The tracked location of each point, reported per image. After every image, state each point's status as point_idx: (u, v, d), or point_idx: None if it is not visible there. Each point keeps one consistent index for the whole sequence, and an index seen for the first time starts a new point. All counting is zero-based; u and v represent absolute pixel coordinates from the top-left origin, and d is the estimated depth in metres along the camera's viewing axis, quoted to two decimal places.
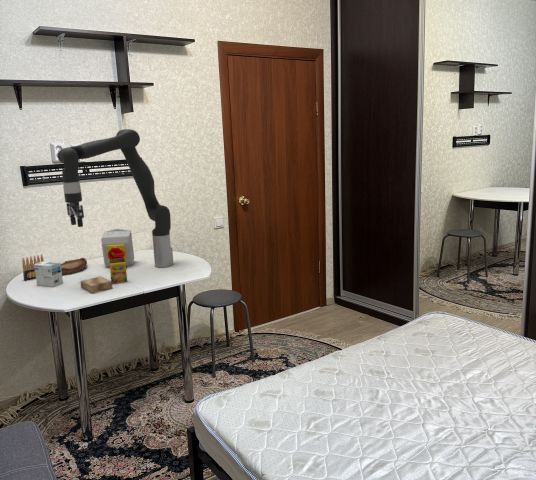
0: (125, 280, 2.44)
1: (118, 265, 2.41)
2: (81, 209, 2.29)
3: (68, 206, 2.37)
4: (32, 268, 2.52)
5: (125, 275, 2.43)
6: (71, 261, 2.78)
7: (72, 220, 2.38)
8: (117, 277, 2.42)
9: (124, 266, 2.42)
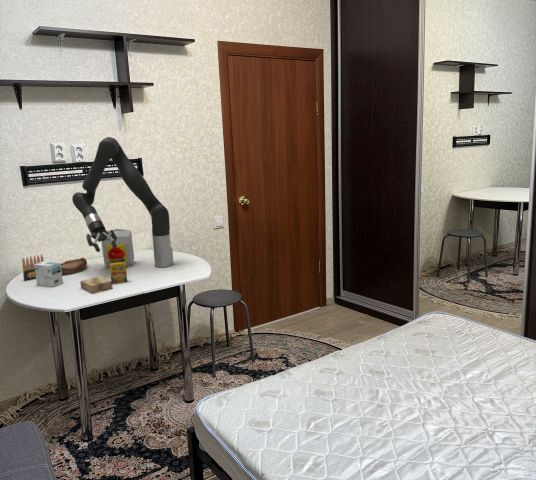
0: (125, 280, 2.44)
1: (118, 265, 2.41)
2: (87, 237, 2.46)
3: None
4: (32, 268, 2.52)
5: (125, 275, 2.43)
6: (71, 261, 2.78)
7: (112, 245, 2.52)
8: (117, 277, 2.42)
9: (124, 266, 2.42)
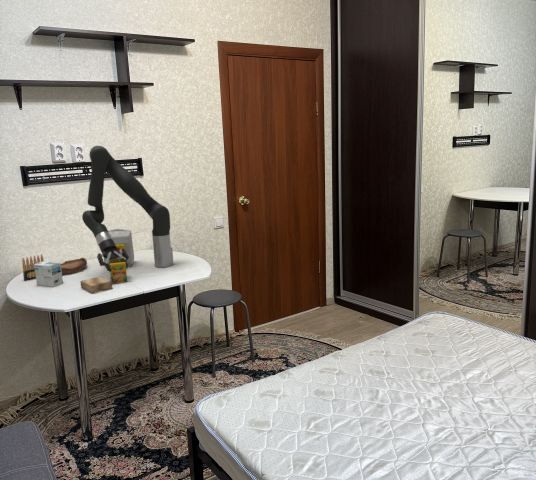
0: (125, 280, 2.44)
1: (118, 265, 2.41)
2: (98, 257, 2.40)
3: None
4: (32, 268, 2.52)
5: (125, 275, 2.43)
6: (71, 261, 2.78)
7: None
8: (117, 277, 2.42)
9: (124, 266, 2.42)
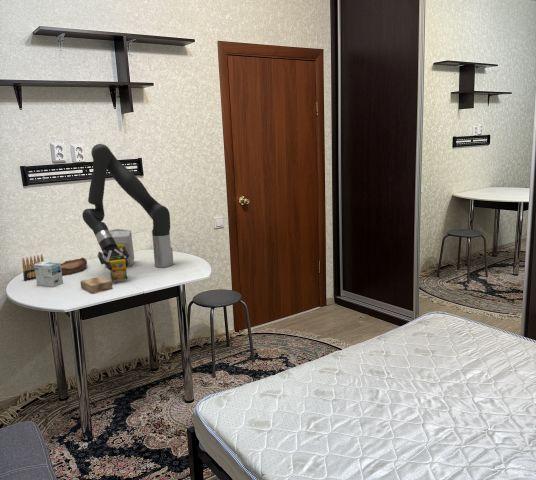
0: (125, 277, 2.44)
1: (118, 262, 2.41)
2: (99, 256, 2.40)
3: None
4: (32, 268, 2.52)
5: (125, 272, 2.43)
6: (71, 261, 2.78)
7: None
8: (117, 274, 2.42)
9: (124, 263, 2.42)
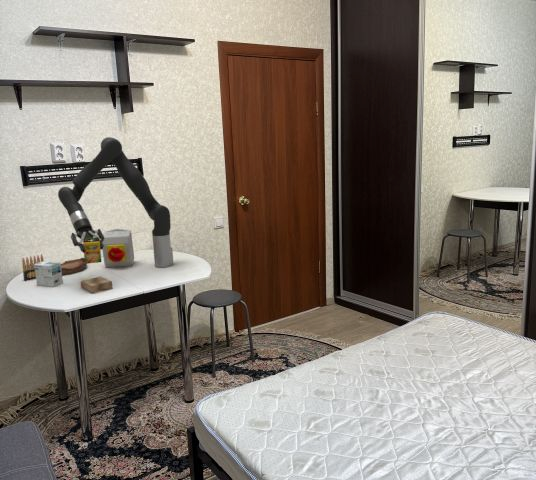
0: (99, 260, 2.33)
1: (92, 244, 2.30)
2: (72, 237, 2.29)
3: None
4: (32, 268, 2.52)
5: (99, 255, 2.32)
6: (71, 261, 2.78)
7: None
8: (90, 257, 2.31)
9: (98, 245, 2.31)
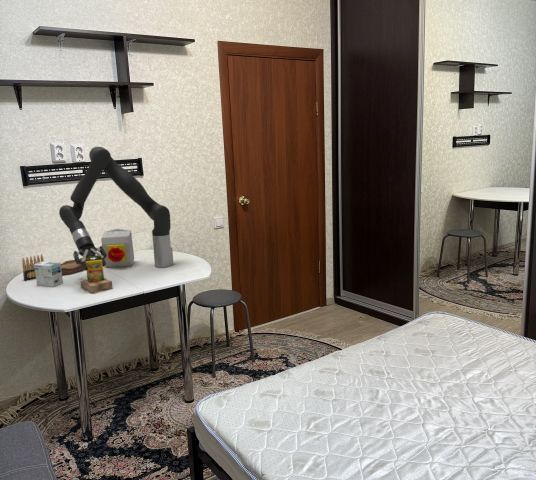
0: (102, 278, 2.35)
1: (94, 263, 2.32)
2: (74, 255, 2.30)
3: None
4: (32, 268, 2.52)
5: (102, 273, 2.34)
6: (71, 261, 2.78)
7: None
8: (93, 275, 2.33)
9: (101, 264, 2.33)
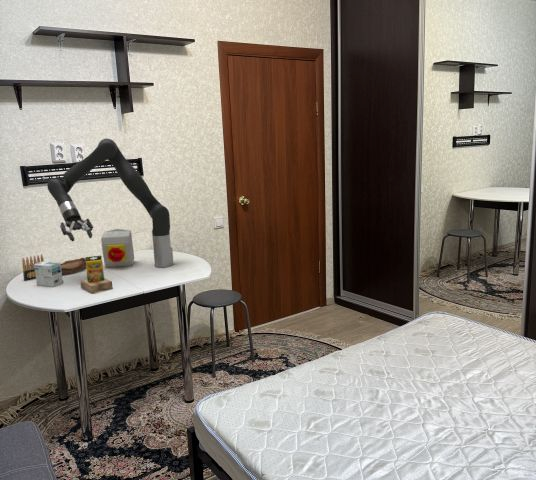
0: (102, 278, 2.35)
1: (94, 263, 2.32)
2: (61, 226, 2.36)
3: (85, 223, 2.45)
4: (32, 268, 2.52)
5: (102, 273, 2.34)
6: (71, 261, 2.78)
7: (88, 234, 2.42)
8: (93, 275, 2.33)
9: (101, 264, 2.33)
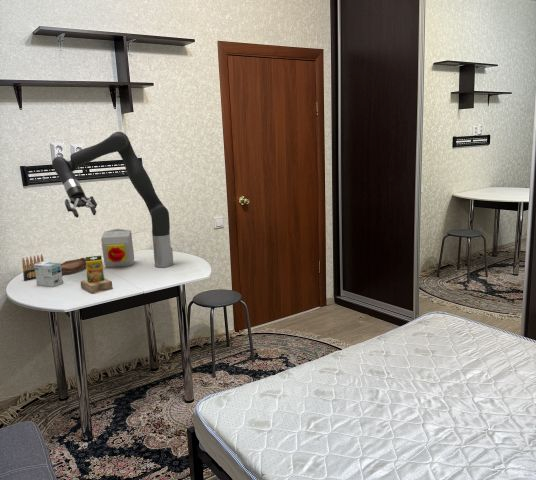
0: (102, 278, 2.35)
1: (94, 263, 2.32)
2: (66, 203, 2.40)
3: None
4: (32, 268, 2.52)
5: (102, 273, 2.34)
6: (71, 261, 2.78)
7: (92, 211, 2.46)
8: (93, 275, 2.33)
9: (101, 264, 2.33)
